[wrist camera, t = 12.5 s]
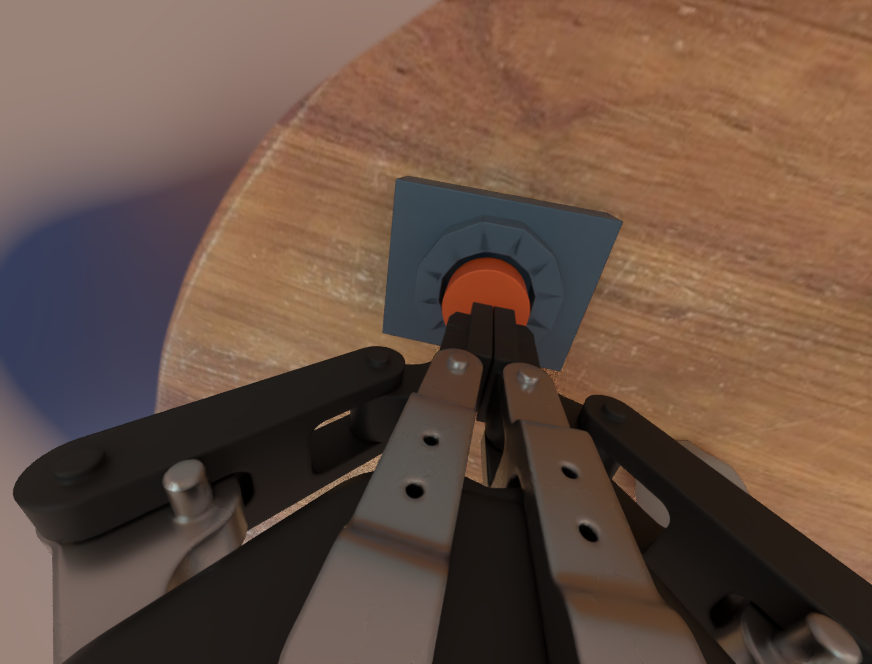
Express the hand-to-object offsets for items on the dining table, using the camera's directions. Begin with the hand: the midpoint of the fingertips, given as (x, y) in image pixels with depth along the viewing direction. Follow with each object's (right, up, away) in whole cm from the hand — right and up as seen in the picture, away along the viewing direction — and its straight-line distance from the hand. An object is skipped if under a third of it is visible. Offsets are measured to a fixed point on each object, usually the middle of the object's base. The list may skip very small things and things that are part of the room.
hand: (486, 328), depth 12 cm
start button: (0, +2, +3) cm, 3 cm away
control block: (+1, +3, +6) cm, 7 cm away
